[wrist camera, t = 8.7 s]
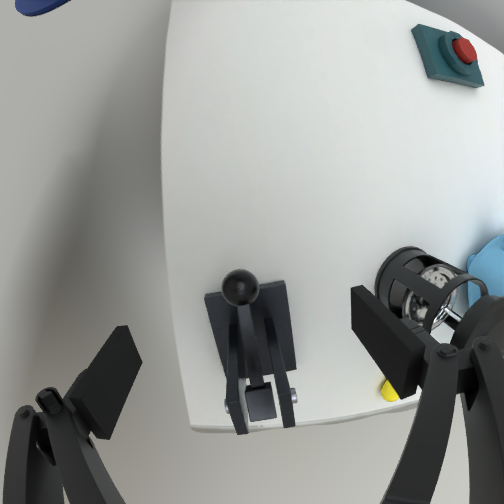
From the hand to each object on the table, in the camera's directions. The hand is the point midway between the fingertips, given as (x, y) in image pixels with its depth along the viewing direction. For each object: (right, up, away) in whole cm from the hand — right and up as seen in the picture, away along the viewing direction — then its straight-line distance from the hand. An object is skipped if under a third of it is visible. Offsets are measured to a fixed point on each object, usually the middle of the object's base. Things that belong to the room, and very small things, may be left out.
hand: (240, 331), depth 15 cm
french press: (+20, 0, +18) cm, 27 cm away
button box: (+29, +32, +10) cm, 44 cm away
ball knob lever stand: (+1, -5, +18) cm, 19 cm away
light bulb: (+22, -15, +22) cm, 34 cm away
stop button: (+29, +31, +6) cm, 43 cm away
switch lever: (+1, -4, +9) cm, 10 cm away
